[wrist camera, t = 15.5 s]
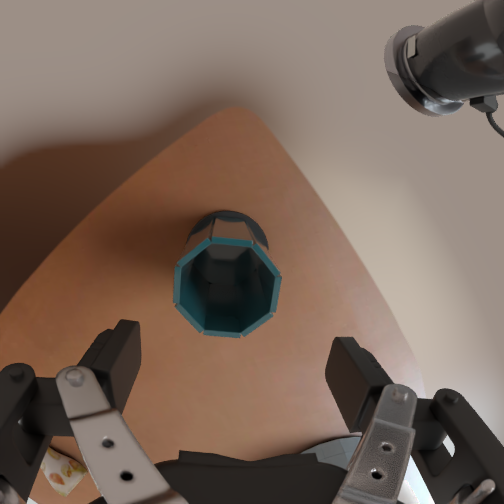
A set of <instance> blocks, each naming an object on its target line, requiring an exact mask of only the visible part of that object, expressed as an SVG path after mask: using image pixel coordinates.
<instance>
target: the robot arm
mask: <svg viewBox="0 0 504 504" xmlns="http://www.w3.org/2000/svg"><path fill="white" fill-rule="evenodd" d="M402 59H403V64H404V67H405V70H406V72H407V74H408V76H409V78H410V80H411V82H412V83H413V84H414V86H415V87H416V88H417V89H418V91H419V92H420V93H421V94H422V95H424V96H425V97H426V98H427V99H429V100H431V101H432V102H435V103H437V104H442V105H446V104H451V103H454V102H456V101H457V102H459V103H461V102H465V101H470V106H472V107H474V108H475V109H477V110H479V111H481V112H486V116H487V119H488V121H489V123H490V125H491V126H492V127H493V129H494V130H495V131H496V132H497V133H498V134H500V135H501V136H502V137H503V138H504V131H503V130H502V129H501V128H500V127H499V126H498V125H497V124H496V123H495V121H494V119H493V117H492V113H493V112H495V111H496V110H497V108H498V103H497V100H496V96H497V95H503V94H504V0H474V1H472V2H470V3H468V4H466V5H465V6H463V7H461V8H459V9H457V10H456V11H454V12H452V13H450V14H448V15H447V16H445V17H443V18H441V19H440V20H438V21H436V22H434V23H433V24H431V25H429V26H428V27H426V28H424V29H423V30H421V31H419V32H418V33H415V34H413V35H411V36H410V37H408V38H407V39H406V41H405V42H404V45H403V49H402ZM140 365H141V339H140V324H139V322H138V321H131V320H124V319H121V320H120V321H119V322H118V324H117V325H116V327H115V328H114V330H112V329H107V330H105V331H103V332H102V333H100V334H99V335H98V336H97V337H96V339H95V340H94V343H92V344H91V346H90V348H89V349H88V350H87V352H86V353H85V354H84V356H83V357H82V359H81V360H80V362H79V363H78V364H77V366H69V367H66V368H63V369H62V370H60V371H59V372H58V373H57V375H56V378H45V377H36V376H35V372H34V370H33V368H32V367H31V366H29V365H27V364H24V363H14V364H10V365H8V366H6V367H5V368H3V369H2V371H1V372H0V504H26V503H27V500H28V497H29V495H30V492H31V489H32V486H33V484H34V481H35V479H36V476H37V473H38V471H39V468H40V466H41V464H42V461H43V459H44V456H45V454H46V452H47V449H48V447H49V445H50V442H51V440H52V438H53V436H73V437H74V438H75V440H76V443H77V445H78V447H79V450H80V452H81V454H82V457H83V459H84V461H85V463H86V465H87V468H88V470H89V472H90V474H91V476H92V478H93V480H94V482H95V484H96V486H97V488H98V490H99V492H100V494H101V497H99V498H97V499H96V500H94V501H92V502H90V503H89V504H405V503H403V502H401V501H399V500H397V499H398V496H399V493H400V490H401V486H402V483H403V480H404V476H405V473H406V469H407V466H408V462H409V458H410V454H411V456H412V458H413V460H414V462H415V464H416V466H417V468H418V470H419V472H420V474H421V476H422V478H423V480H424V482H425V484H426V486H427V488H428V490H429V492H430V494H431V496H432V498H433V500H434V502H435V504H504V447H503V445H502V444H501V443H500V441H499V440H498V439H497V438H496V436H495V435H494V434H493V433H492V431H491V430H490V429H489V428H488V426H487V425H486V424H485V423H484V422H483V420H482V419H481V418H480V417H479V415H478V414H477V413H476V412H475V410H474V409H473V408H472V407H471V406H470V404H469V403H468V402H467V401H466V400H465V398H464V397H463V396H462V395H461V394H460V393H458V392H456V391H454V390H452V389H446V388H444V389H440V390H438V391H437V392H436V394H435V395H434V397H433V399H422V398H417V395H416V393H415V392H414V391H413V390H412V389H410V388H409V387H407V386H404V385H401V384H394V383H393V381H392V380H391V379H390V377H389V376H388V375H387V373H386V372H385V371H384V369H383V368H381V365H380V364H379V363H378V362H377V360H376V359H375V357H374V356H373V355H372V354H371V353H370V352H368V351H367V350H366V349H364V348H361V347H360V346H359V344H358V343H357V342H356V340H355V339H354V338H353V337H335V338H334V340H333V343H332V347H331V350H330V354H329V358H328V361H327V365H326V369H325V378H326V382H327V384H328V386H329V388H330V390H331V392H332V395H333V397H334V399H335V401H336V403H337V406H338V408H339V410H340V412H341V414H342V416H343V419H344V421H345V423H346V425H347V427H348V430H349V432H350V433H354V432H362V434H363V435H362V437H361V439H360V440H359V443H358V445H357V447H356V449H355V451H354V453H353V455H352V457H351V459H350V461H349V463H348V465H347V467H346V469H344V468H342V467H339V466H336V465H333V464H329V463H324V462H318V459H317V456H316V453H304V454H285V455H280V456H275V457H271V458H266V459H261V460H256V461H244V460H239V459H235V458H230V457H226V456H222V455H218V454H214V453H202V452H191V451H182V450H179V458H178V459H176V460H168V461H163V462H159V463H156V464H153V463H152V461H151V460H150V459H149V457H148V456H147V454H146V453H145V451H144V450H143V449H142V447H141V446H140V444H139V443H138V441H137V439H136V438H135V436H134V435H133V433H132V432H131V430H130V429H129V427H128V425H127V424H126V422H125V420H124V419H123V417H122V413H123V410H124V407H125V405H126V402H127V399H128V397H129V394H130V392H131V389H132V386H133V384H134V381H135V379H136V376H137V374H138V371H139V369H140ZM447 435H448V436H449V438H450V439H451V441H452V442H453V444H454V446H455V453H454V455H453V457H451V455H450V453H449V452H448V450H447V449H446V447H445V446H444V444H443V441H444V439H445V438H446V436H447Z"/></svg>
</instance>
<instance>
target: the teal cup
mask: <svg viewBox="0 0 504 504" xmlns="http://www.w3.org/2000/svg"><path fill="white" fill-rule="evenodd" d="M281 279H282V277H281V275H280V271H279V269H278V267H277V265H276V264H275V262H274V260H273V258H272V257H271V255H270V253H269V251H268V250H267V248H266V246H265V244H264V243H263V241H262V239H261V238H260V237H259V236H258V234H257V233H256V232H255V231H254V229H253V228H252V227H251V225H250V224H249V223H248V222H247V220H245V221H244V219H243V218H235V217H225V216H216V219H215V218H214V217H212V218H211V219H209V220H208V221H207V222H206V223H205V224H203V225H202V226H201V227H200V228H198V229H197V230H196V231H195V232H193V234H192V235H191V237H190V239H189V241H188V243H187V245H186V247H185V248H184V250H183V252H182V254H181V256H180V258H179V260H178V262H177V264H176V265H175V271H174V290H173V303H176V305H175V308H176V309H177V310H178V311H179V312H180V313H181V314H182V315H183V316H184V317H185V319H186V320H187V321H188V322H189V323H190V324H191V325H192V326H193V327H194V328H195V329H196V330H197V331H198V332H199V333H201V332H202V331H203V330H204V331H203V335H209V336H220V337H232V338H240V336H241V334H242V335H243V336H244V337H245V336H246V335H248V334H249V333H251V332H252V331H253V330H255V329H256V328H258V327H259V326H260V325H262V324H263V323H265V322H266V321H267V320H269V319H270V318H272V317H273V313H272V312H276V309H277V303H278V297H279V291H280V285H281Z"/></svg>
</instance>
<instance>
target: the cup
mask: <svg viewBox="0 0 504 504" xmlns="http://www.w3.org/2000/svg"><path fill="white" fill-rule="evenodd" d="M397 500H399V501H401V502H403V503H405V504H420V503H419V501H418V499H417V497H416V495H415V493H414V492H413V490H412V488H411V486H410V484H409V483H408V481H407V480H403V483H402V486H401V490H400V493H399V496H398V499H397Z"/></svg>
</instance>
